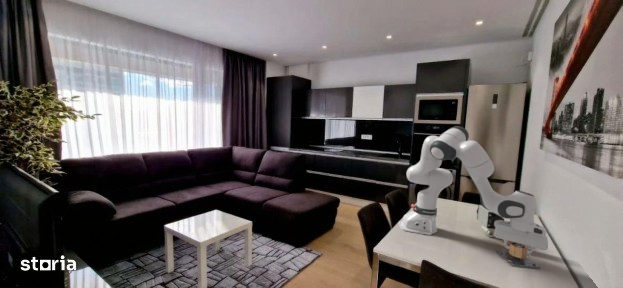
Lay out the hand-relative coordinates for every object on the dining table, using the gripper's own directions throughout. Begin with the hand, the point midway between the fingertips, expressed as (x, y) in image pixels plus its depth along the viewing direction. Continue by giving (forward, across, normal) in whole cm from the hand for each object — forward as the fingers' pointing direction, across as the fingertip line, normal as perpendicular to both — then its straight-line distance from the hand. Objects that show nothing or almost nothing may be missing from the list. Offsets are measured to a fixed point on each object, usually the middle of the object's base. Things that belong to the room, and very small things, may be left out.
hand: (517, 251), depth 122 cm
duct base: (+5, 0, 0) cm, 5 cm away
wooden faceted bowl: (+2, 0, 0) cm, 2 cm away
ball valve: (+5, -13, +26) cm, 29 cm away
